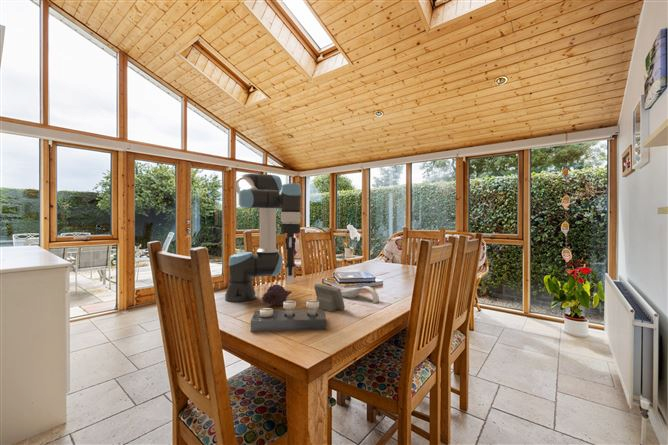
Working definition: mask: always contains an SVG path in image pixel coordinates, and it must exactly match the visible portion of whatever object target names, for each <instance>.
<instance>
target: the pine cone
mask: <svg viewBox="0 0 668 445" xmlns="http://www.w3.org/2000/svg"><path fill="white" fill-rule="evenodd" d="M291 294H292V291H291V290H286V289H285V288H284V287H283V286H282V285H280V284H273V285H271V286H269V287H268V288H267V290H266V292H264V294H263V296H262V297H261V301H262V302H263V303H264V304H268V305H273V304H274V305H276V306H282V305H283V302H285V301H287V298H288V297H289V296H290V295H291Z"/></svg>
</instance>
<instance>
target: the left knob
mask: <svg viewBox="0 0 668 445" xmlns="http://www.w3.org/2000/svg"><path fill="white" fill-rule="evenodd" d="M259 311H260V316H261V317H270V316H272V315H273V311H274V309H273V308H271V307H270V308H269V307H263V308H260V309H259Z"/></svg>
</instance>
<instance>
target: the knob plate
mask: <svg viewBox="0 0 668 445" xmlns="http://www.w3.org/2000/svg"><path fill="white" fill-rule="evenodd" d="M327 325H328V324H327V316H326V312H325V310H323V309H316V316H309V309H297V310H296V309H294V316H293V317H286V309H285V310H273V315H272V316H270V317H261V316H260V310H255V311H254V313H253V314H252V317H251V319H250V332H251V333H261V332H288V331H289V332H292V331H293V332H294V331H295V332H297V331H301V332H302V331H327Z"/></svg>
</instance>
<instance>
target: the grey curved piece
mask: <svg viewBox="0 0 668 445" xmlns="http://www.w3.org/2000/svg"><path fill="white" fill-rule="evenodd" d="M340 289H341V293H342V297H344V298H346V299H355V298H356V297H357V296H359V295H360V293H361V292H362V291H363V290H367V291H368V292H370V294H371V296H372V303H373V304H375V303H378V302H380V298H379V295H378V292H377V291H376V290H375V289H374V288H373V287H371V286H368V285H367V286H362V287H343V288H340Z"/></svg>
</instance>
